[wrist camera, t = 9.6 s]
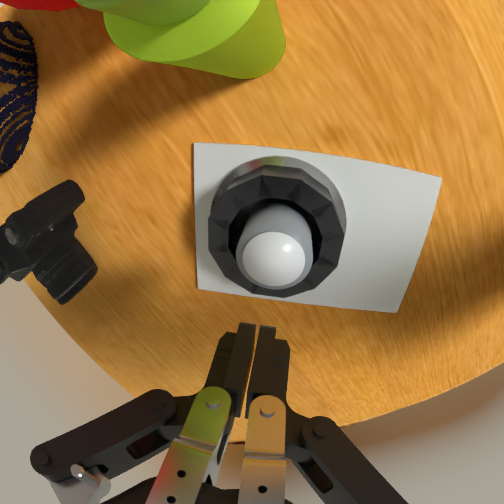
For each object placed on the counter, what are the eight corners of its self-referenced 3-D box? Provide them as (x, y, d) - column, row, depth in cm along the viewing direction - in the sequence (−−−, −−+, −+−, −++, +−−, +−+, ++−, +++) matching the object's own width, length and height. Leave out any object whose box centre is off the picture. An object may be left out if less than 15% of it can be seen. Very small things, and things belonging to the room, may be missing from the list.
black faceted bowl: (356, 166, 20) (366, 178, 17) (331, 285, 26) (334, 310, 23) (212, 150, 22) (197, 159, 19) (212, 269, 27) (201, 292, 24)
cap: (314, 199, 22) (318, 230, 17) (306, 256, 24) (306, 295, 20) (249, 192, 22) (235, 221, 18) (246, 249, 25) (234, 287, 20)
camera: (65, 290, 34) (23, 339, 25) (22, 226, 30) (-30, 266, 21) (125, 252, 29) (71, 314, 20) (70, 168, 25) (-3, 208, 16)
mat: (440, 177, 20) (442, 178, 19) (395, 310, 27) (396, 313, 27) (195, 142, 22) (194, 143, 21) (199, 286, 29) (198, 288, 29)
